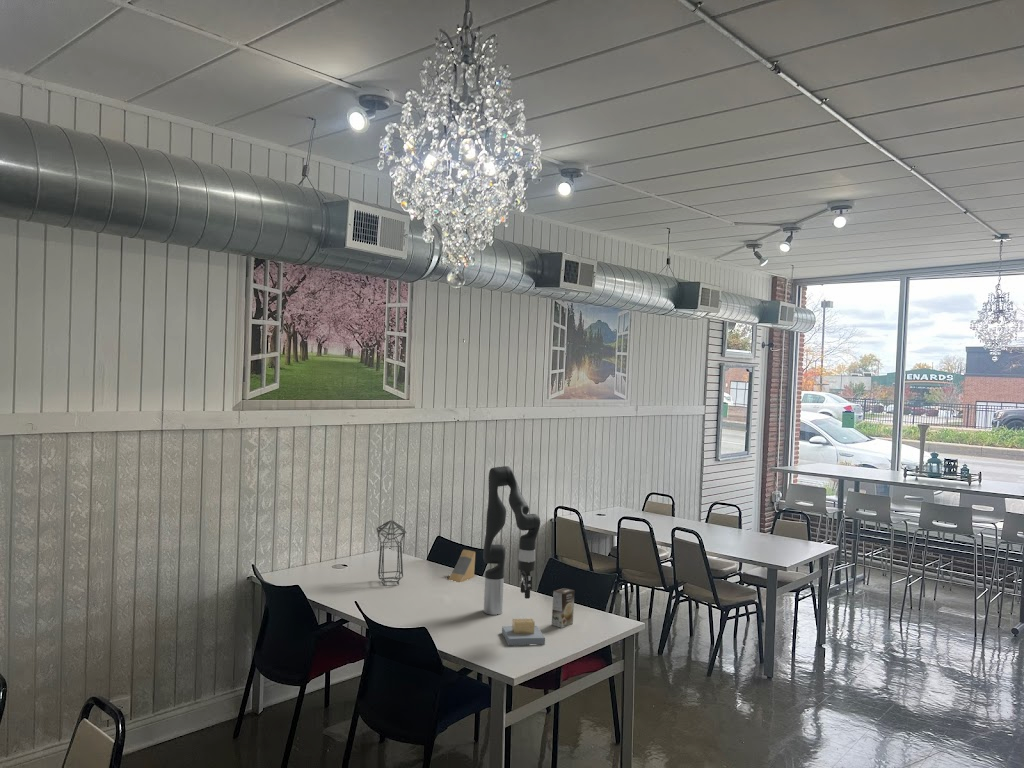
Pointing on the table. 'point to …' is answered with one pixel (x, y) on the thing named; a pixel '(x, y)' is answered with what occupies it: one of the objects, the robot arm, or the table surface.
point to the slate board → (523, 637)
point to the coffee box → (563, 607)
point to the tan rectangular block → (523, 626)
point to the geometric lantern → (390, 546)
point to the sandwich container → (464, 567)
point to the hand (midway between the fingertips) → (525, 595)
